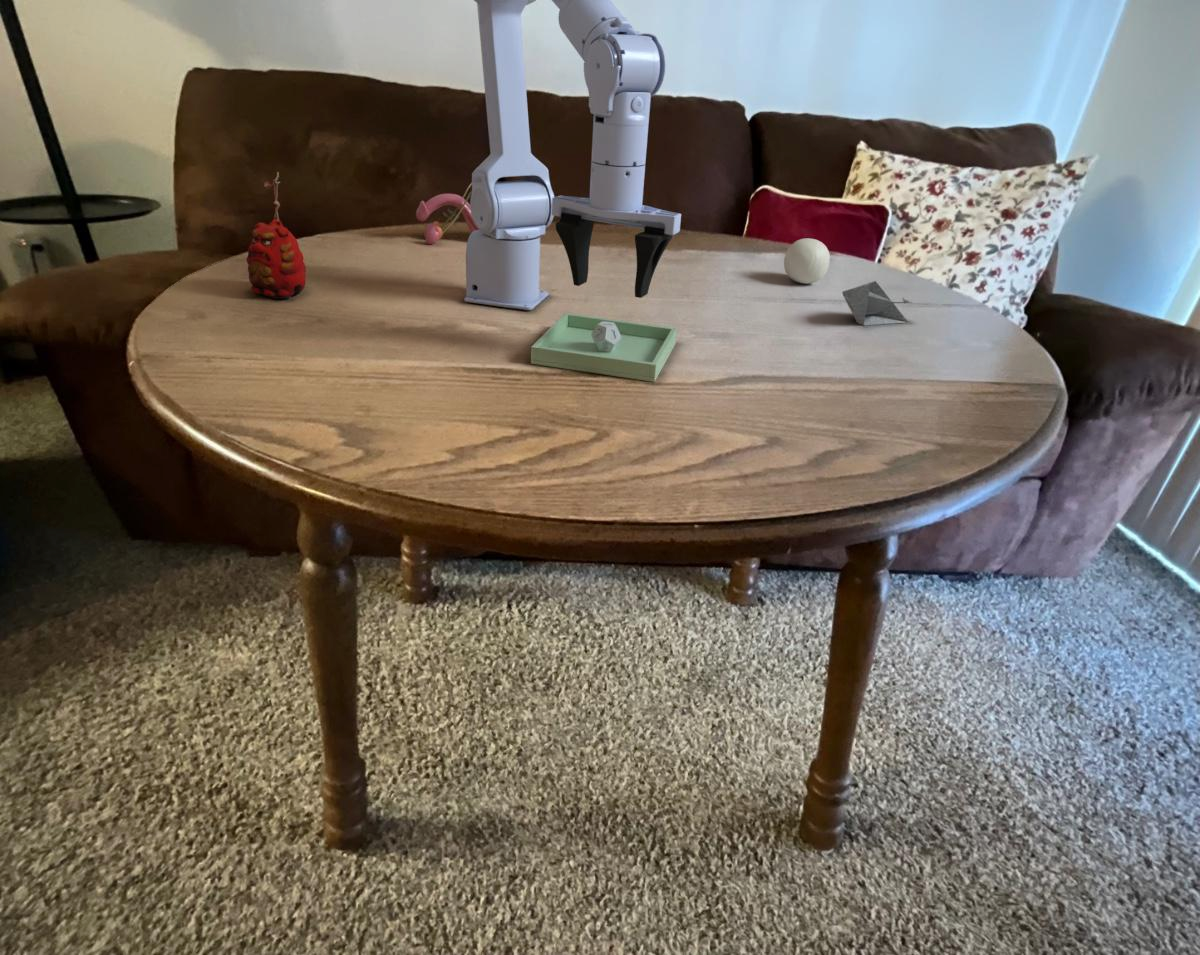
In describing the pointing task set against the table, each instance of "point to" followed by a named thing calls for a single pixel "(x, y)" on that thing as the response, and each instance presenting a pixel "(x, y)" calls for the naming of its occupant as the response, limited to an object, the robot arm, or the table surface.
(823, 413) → the table surface
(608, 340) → the game die
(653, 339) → the tray
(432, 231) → the anatomy model
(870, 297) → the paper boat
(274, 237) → the red clay folk toy
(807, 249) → the cream white ball
